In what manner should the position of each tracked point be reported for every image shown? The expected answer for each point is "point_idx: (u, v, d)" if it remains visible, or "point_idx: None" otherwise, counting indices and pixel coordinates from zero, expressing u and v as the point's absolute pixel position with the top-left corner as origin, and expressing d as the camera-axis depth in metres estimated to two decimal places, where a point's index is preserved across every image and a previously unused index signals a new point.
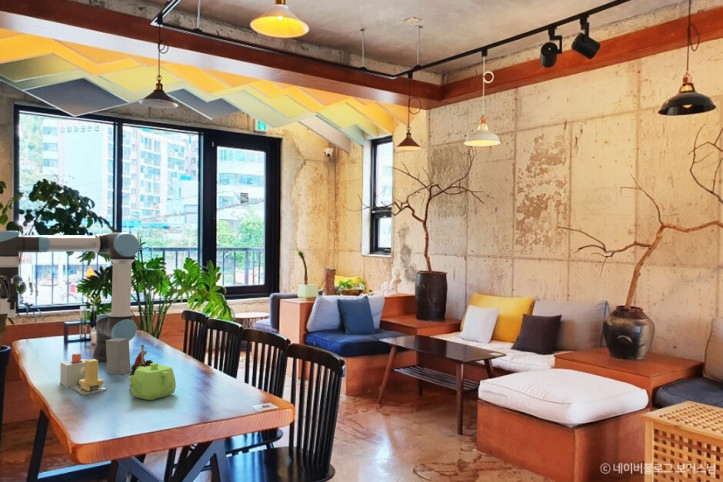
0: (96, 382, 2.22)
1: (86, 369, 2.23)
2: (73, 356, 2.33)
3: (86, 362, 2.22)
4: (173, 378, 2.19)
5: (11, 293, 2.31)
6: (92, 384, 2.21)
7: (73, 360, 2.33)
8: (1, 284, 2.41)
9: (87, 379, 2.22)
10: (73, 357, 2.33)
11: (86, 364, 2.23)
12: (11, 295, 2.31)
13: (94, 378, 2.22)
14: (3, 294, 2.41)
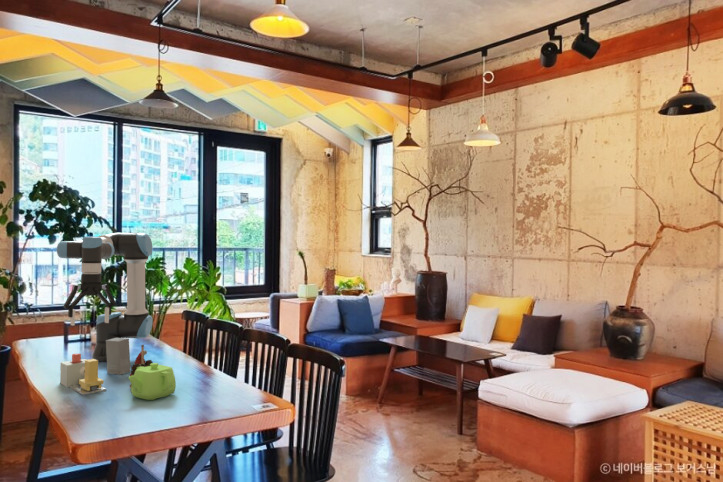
0: (96, 382, 2.22)
1: (86, 369, 2.23)
2: (73, 356, 2.33)
3: (86, 362, 2.22)
4: (173, 378, 2.19)
5: (67, 300, 2.25)
6: (92, 384, 2.21)
7: (73, 360, 2.33)
8: (105, 292, 2.36)
9: (87, 379, 2.22)
10: (73, 357, 2.33)
11: (86, 364, 2.23)
12: (65, 302, 2.25)
13: (94, 378, 2.22)
14: (104, 302, 2.35)
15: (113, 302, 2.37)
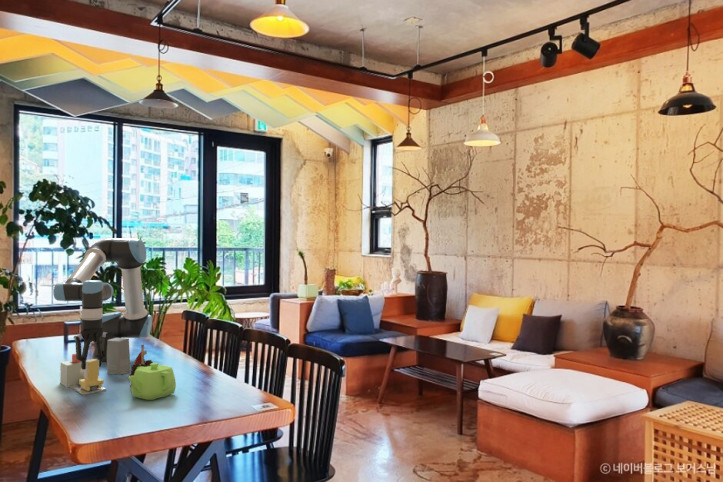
0: (96, 382, 2.22)
1: None
2: (73, 356, 2.33)
3: None
4: (173, 378, 2.19)
5: (76, 352, 2.20)
6: (92, 384, 2.21)
7: (73, 360, 2.33)
8: (102, 340, 2.28)
9: (87, 379, 2.22)
10: (73, 357, 2.33)
11: None
12: (76, 354, 2.20)
13: (95, 378, 2.22)
14: (96, 352, 2.25)
15: (104, 353, 2.26)
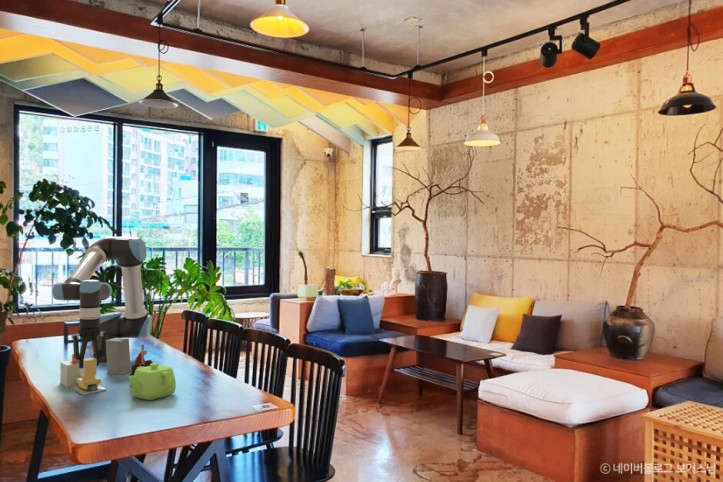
0: (93, 381, 2.23)
1: None
2: (73, 356, 2.33)
3: None
4: (173, 378, 2.19)
5: (74, 351, 2.22)
6: (89, 383, 2.22)
7: (73, 360, 2.33)
8: (99, 339, 2.29)
9: (84, 378, 2.24)
10: (73, 357, 2.33)
11: None
12: (74, 353, 2.22)
13: (92, 377, 2.24)
14: (93, 351, 2.27)
15: (102, 352, 2.28)
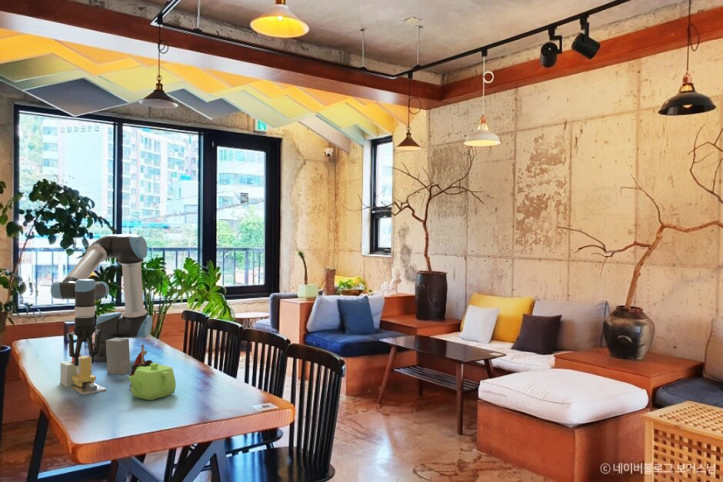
0: (88, 378, 2.27)
1: None
2: None
3: None
4: (173, 378, 2.19)
5: (69, 349, 2.25)
6: (85, 380, 2.26)
7: (73, 360, 2.33)
8: None
9: (80, 376, 2.27)
10: None
11: None
12: (69, 351, 2.25)
13: (87, 375, 2.28)
14: (89, 349, 2.31)
15: (97, 350, 2.32)
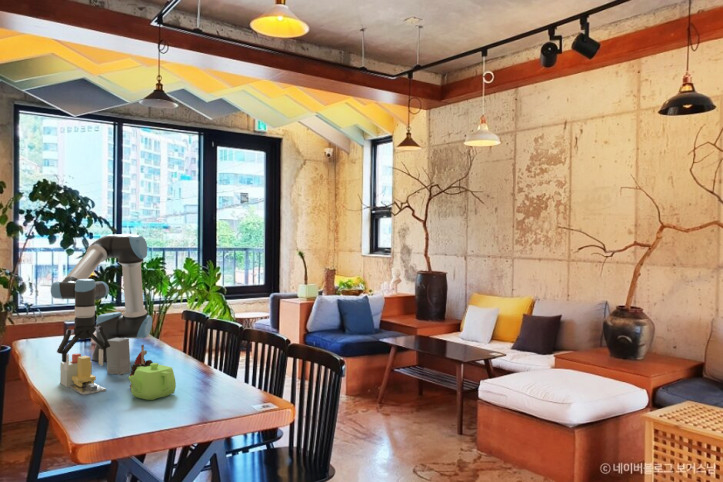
0: (88, 378, 2.27)
1: (79, 366, 2.28)
2: (73, 356, 2.33)
3: (79, 359, 2.28)
4: (173, 378, 2.19)
5: (60, 345, 2.23)
6: (84, 380, 2.26)
7: (73, 360, 2.33)
8: (98, 334, 2.34)
9: (79, 376, 2.27)
10: (73, 357, 2.33)
11: (79, 361, 2.28)
12: (59, 347, 2.23)
13: (87, 375, 2.28)
14: (98, 344, 2.33)
15: (107, 344, 2.35)
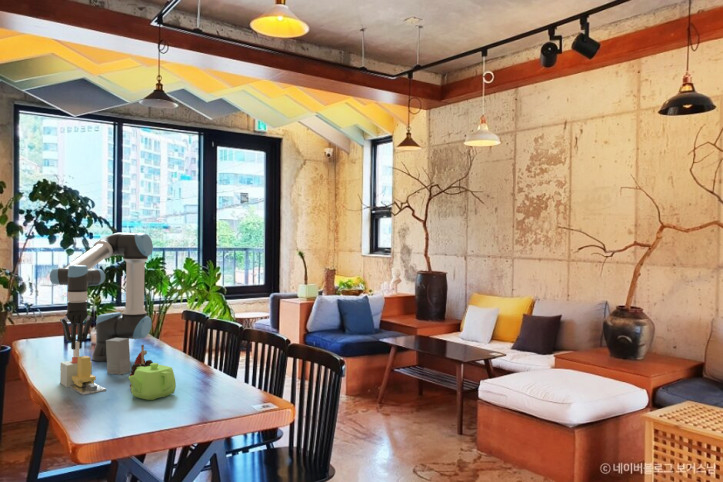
0: (88, 378, 2.27)
1: (79, 366, 2.28)
2: (73, 359, 2.33)
3: (79, 359, 2.28)
4: (173, 378, 2.19)
5: (65, 334, 2.32)
6: (84, 380, 2.26)
7: (73, 363, 2.33)
8: (85, 323, 2.38)
9: (79, 376, 2.27)
10: (73, 360, 2.33)
11: (79, 361, 2.28)
12: None
13: (87, 375, 2.28)
14: (78, 334, 2.35)
15: (85, 335, 2.36)
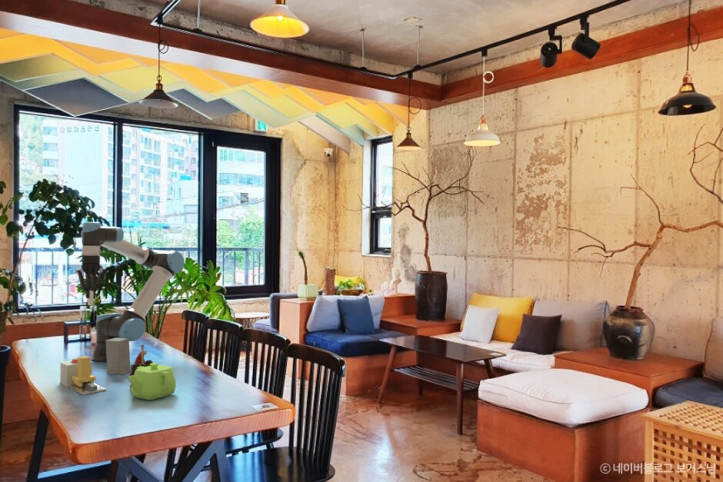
0: (88, 378, 2.27)
1: (79, 366, 2.28)
2: (73, 361, 2.33)
3: (79, 359, 2.28)
4: (173, 378, 2.19)
5: (80, 283, 2.56)
6: (84, 380, 2.26)
7: None
8: (98, 275, 2.62)
9: (79, 376, 2.27)
10: (73, 362, 2.33)
11: (79, 361, 2.28)
12: (81, 285, 2.56)
13: (87, 375, 2.28)
14: (91, 284, 2.59)
15: (98, 286, 2.60)
